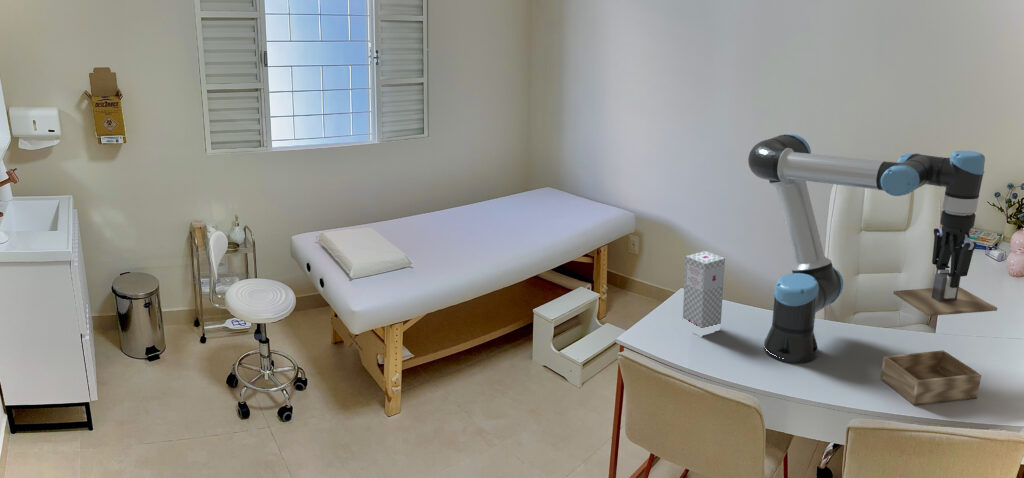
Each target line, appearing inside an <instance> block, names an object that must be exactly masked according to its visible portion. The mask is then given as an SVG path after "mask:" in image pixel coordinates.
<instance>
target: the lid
mask: <svg viewBox="0 0 1024 478" xmlns="http://www.w3.org/2000/svg"><path fill="white" fill-rule="evenodd" d="M948 274H950V272H949V273H938V274H937V273H935V274H934V280H933V281H934V282H933V287H930V288H929V287H928V288H917V289H913V288H912V289H903V290H893V295H894V296H896V297H897V298H899V299H901V300H902V301H904V302H906V303H907V304H909V305H910V306H912V307H913V308H915V309H916V310H918V311H919V312H921V313H923V314H924V315H925V316H927V317H935V316H947V315H960V314H970V313H971V314H973V313H983V312H985V313H987V312H997V311H998V307H997V306H995V305H993V304H991V303H989V302H987V301H986V300H984V299H982V298H981V297H979V296H977V295H975V294H974V293H972V292H969V291H967V290H966V289H964V288H962V287H961V286H960V283H961V278H962V276H961V277H960V279H959V284H958V287H957V289H956V295H955V298H947V299H945V298H944V293H945V287H946V281H947V275H948Z"/></svg>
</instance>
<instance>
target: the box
mask: <svg viewBox="0 0 1024 478" xmlns="http://www.w3.org/2000/svg"><path fill="white" fill-rule="evenodd" d="M684 261H685V262H684V265H685V266H684V280H683V281H684V283H683V284H684V285H683V306H682V319H683V318H684V319H686V320H688V321H689V322H691V323H693V324H694V325H696V326H698V327H700V328H705V327H709V326H713V325H717V324H721V323H722V313H723V312H722V309H723V308H722V307H723V296H724V279H725V267H726V266H725V264H726V258H725V257H722V256H720V255H718V254H715V253H713V252H710V251H707V250H704V251H699V252H696V253H692V254H688V255H685V260H684ZM721 325H722V324H721Z"/></svg>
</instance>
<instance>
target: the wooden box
mask: <svg viewBox="0 0 1024 478" xmlns="http://www.w3.org/2000/svg"><path fill="white" fill-rule="evenodd" d="M981 379H982V374H981V373H979V372H978V371H977V370H974V369H973V368H971V367H970V366H968V364H965V363H963V362H962V361H961V360H960V359H958V358H956V356H955V357H954V356H953V355H952V354H950V353H948V352H947V351H946V350H943V349H942V350H935V351H934V350H933V351H932V350H931V351H925V352H924V351H922V352H913V353H904V354H896V355H886V356H883V358H882V367H881V371H880V380H882V381H883V382H884V383H885V384H886V385H887V386H889V388H891V389H892V390H894V391H895V393H897V394H899V395H900V396H901V397H903V399H905V400H906V401H907V402H909V403H910V404H912V405H913V406H922V405H924V406H925V405H932V404H941V403H948V402H956V401H958V402H959V401H966V400H975V399H978V394H979V389H980V385H981Z"/></svg>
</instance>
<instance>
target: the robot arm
mask: <svg viewBox="0 0 1024 478" xmlns="http://www.w3.org/2000/svg"><path fill="white" fill-rule="evenodd" d="M747 162H748V166H749V169H750V171H751V172H752V173H753V174H754V175H755V176H756V177H758V178H760V179H762V180H767V181H769V185H771V186H773V187H775V188H776V192H777V195H778V199H779V204H780V207H781V211H782V215H783V218H784V223H785V228H786V231H787V236H788V239H789V243H790V247H791V251H792V255H793V260H794V264H793V265H792V267H790V268H791V273H792V274H791V273H787V274H784V275H782V276H780V277H779V278H778V279H777V281H776V283H775V287H774V291H773V292H774V293H773V294H774V296H773V297H774V299H773V308H772V309H773V311H772V324H771V326H770V329H769V331H768V333H767V335H766V337H765V339H764V344H763V350H764V352H765V354H767V355H768V356H770V357H771V358H773V359H774V360H775V359H776V360H778V361H781V362H785V363H791V364H804V363H809V362H812V361H814V360H815V359H817V357H818V350H819V347H818V343H817V340H816V336H815V331H814V329H815V328H814V327H815V319H816V313H818V312H819V311H822V309H824V308H826V307H827V306H829V305H831V304H833V303H834V302H835V301H837V299H838V298H839V297H840V296H841V294H842V293H843V289H844V279H843V276H842V274H841V272H840V271H839V270H837V268H835V267H834V266H833V262H832V260H831V259H829V258H828V257H826V256H825V253H824V249H823V245H822V242H821V236H820V232H819V229H818V224H817V220H816V216H815V214H814V209H813V205H812V201H811V200H812V199H811V196H810V192H809V189H808V184H807V182H812V183H813V182H814V183H820V184H821V183H822V184H827V185H828V184H829V185H836V186H845V187H853V188H860V189H870V190H876V191H883V192H885V193H886V194H888V195H890V196H893V197H901V196H906V195H908V194H911V193H913V192H914V191H916V190H917V189H919V188H921V187H922V186H925V185H928V186H935V187H936V186H937V187H943V188H945V191H944V195H943V200H942V201H943V203H942V211H941V215H940V221H939V223H940V225H941V227H940V228H939V227H937V228H934V229H933V236H934V239H933V248H932V259H931V263H932V265H935V266H936V274H938V273H950V274H948V275H947V281H946V287H945V293H944V298H945V299H947V298H955V295H956V289H957V287H958V284H959V279H960V280H961V278H962V277H967V276H968V273H969V270H970V265H971V261H972V258H973V254H974V250H975V249H976V247H977V246H978V244H977V242H976V241H975V242H973V241H972V240H971V239H970V235H971V234H970V231H971V229H973V228H974V226H975V221H976V218H977V217H976V212H977V209H978V204H979V198H980V192H981V186H982V183H983V178H984V174H985V163H986V157H985V155H984V154H983V153H981V152H979V151H972V150H955V151H953V152H952V153H951V155H950V157H943V156H933V155H928V154H927V155H926V154H920V153H907V152H906V153H903V154H901V155H900V157H899V158H898V160H897V161H896V162H895V161H885V160H877V159H867V158H866V159H864V158H858V157H856V158H855V157H846V156H845V157H844V156H835V155H826V154H817V153H816V154H815V153H812V151H811V147H810V145H809V143H808V141H806V139H804V137H802V136H800V135H797V134H794V133H785V134H779V135H777V136H773V137H771V138H769V139H764V140H762V141H759V142H757V143H756V144H755V145H754V146H753V147H752V149H751V150H750V151H749V154H748V159H747ZM949 263H950V266H949ZM960 277H961V278H960ZM959 285H960V284H959ZM764 346H765V348H766V349H767V350H768V351H769V352H770V353H772V354H774V355H776V356H777V357H776V356H774V355H772V354H770V353H769V352H768V351H766V349H765V348H764ZM779 357H780V358H779ZM782 358H784V359H782Z"/></svg>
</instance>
